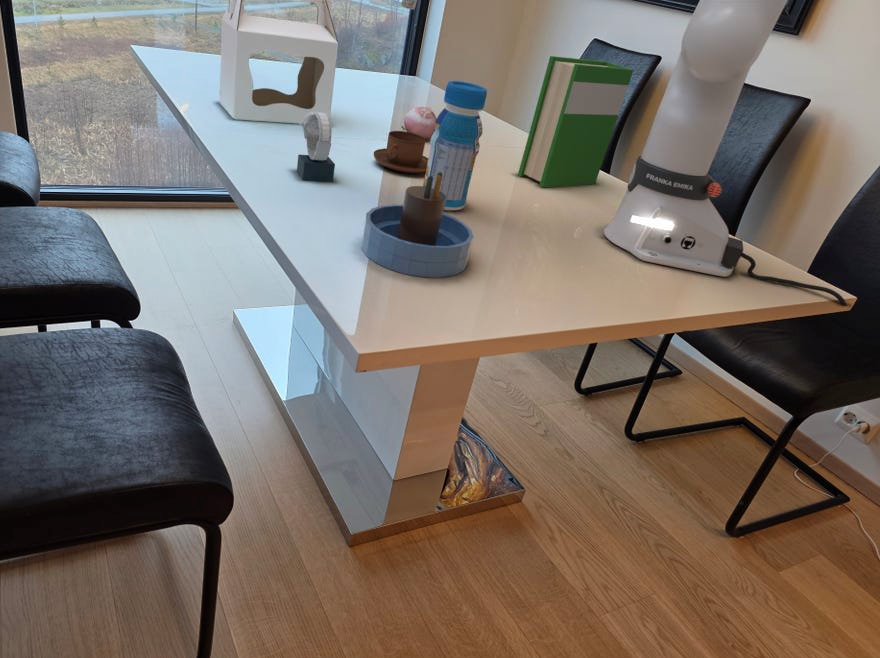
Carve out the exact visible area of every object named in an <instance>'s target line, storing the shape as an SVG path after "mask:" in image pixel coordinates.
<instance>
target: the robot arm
mask: <svg viewBox="0 0 880 658" xmlns="http://www.w3.org/2000/svg"><path fill="white" fill-rule="evenodd" d="M417 2H418V0H402V1H401V7H403V8H405V9H409V10H413V11H414V10H415V9H416V7H417ZM787 2H788V0H699V1H698V3H697V5H696V7H695V9H694V11H693V13H692V15H691V18H690V19H689V22H688V24H687V26H686V28H685V30H684V32H683V35H682V39H681V46H680V53H679V55H678V58H677V60H676V63H675V65H674V68H673V71H672V73H671V76H670V78H669V81H668V83H667V87H666V88H665V91H664V94H663V97H662V99H661V101H660V103H659V106H658V109H657V111H656V114H655V117H654V120H653V123H652V125H651V128H650V131H649V133H648V137H647V139H646V141H645V144H644V147H643V150H642V153H641V155H639V156H637V158H636V162H635V163H634V165H633V167H632V170H631V173H630V176H629V178H628V182H627V186H626V189H627V190H626V192H625V194H624V197H623V199H622V200H621V203H620V204H619V206H618V208H617V210H616V212H615V214H614V215H613V217H612V219H611V220H610V222H609V223H608V224H607V226H606V227H605V229H604V230H603V234H604V236H605V238H606V239H608V240H609V241H610V242H612V243H613V244H614V245H616V246H618V247H619V248H621V249H624V250H625V251H627V252H629V253H631V254H632V255H633V256H635V257H636V258H637V259H639V260H641V261H643V262H648V263H653V264H658V265H663V266H667V267H672V268H678V269H682V270H687V271H692V272H697V273H702V274H708V275H713V276H717V277H721V278H722V277H723V278H726V277H729V276H731V275H732V274H733V270H734V268H736V267H737V265H738V263H739V260H740V258H743V259H745V260H746V261H748V262H749V263H750V266H749V267H748V268H747V270H746V271H747V275H748V276H749V277H750V278H752V279H756V280H759V281H768V282H774V283H779V284H785V285H790V286H795V287H798V288H803V289H808V290H814V291H818V292H819V291H820V292H824V293H827V294H829V295H831V296H833V297H834V298H836V299H837V301H838V302H839V303H840V305H841V306H844V307H848V304H847V301H846V300H845V298H844V297H843V296H842V295H841V294H840V293H838V292H837V291H836V290H834V289H831V288H828V287H825V286H820V285H814V284H809V283H803V282H799V281H795V280H792V279H785V278H780V277H775V276H770V275H769V276H768V275H758V274H756V273H754V272H753V271H754V270H755V268H756V266H757V263H756V260H755V259H754V258H753V257H752V256H750V255H749V254H747V253H745V252H744V241H743V240H741V239H737V238H734V237H731V236H730V233H729V228H728V225H727V224H726V222H725V220H724V219H723V217H722V215H720V213H719V212H718V210H717V208H716V207H715V205H714V204H713V202H712V201H711V200H710V198H717V197H718V196H720V195H721V194H722V191H723V189H722V187H721V185H720V183H719V182H716V180H715V179H714V178H713V177H712V176H711V175H710V174H709V171H710V169H711V166H712V163H713V161H714V159H715V156H716V154H717V152H718V150H719V147H720V144H721V142H722V140H723V137H724V135H725V133H726V130H727V128H728V126H729V123H730V120H731V118H732V115H733V112H734V110H735V108H736V105H737V102H738V100H739V97H740V94H741V92H742V89H743V87H744V84H745V82H746V79H747V78H748V74H749V72H750V70H751V67H752V66H753V65H754V64H755V63H756V61H757V59H758V58H759V56H760V55H761V53H762V51H763V49H764V47H765V45H766V43H767V42H768V40H769V37H770V35H771V34H772V32H773V30H774V28H775V26H776V24H777V22H778V20H779V18H780V16H781V14H782V12H783V10H784V8H785V6H786V4H787ZM744 503H745V502H744V501H743V500H739V501H738V505H739V506H743V505H744Z"/></svg>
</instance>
